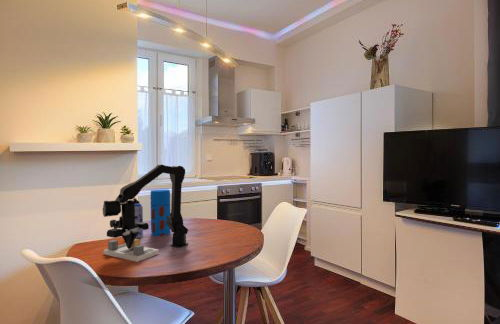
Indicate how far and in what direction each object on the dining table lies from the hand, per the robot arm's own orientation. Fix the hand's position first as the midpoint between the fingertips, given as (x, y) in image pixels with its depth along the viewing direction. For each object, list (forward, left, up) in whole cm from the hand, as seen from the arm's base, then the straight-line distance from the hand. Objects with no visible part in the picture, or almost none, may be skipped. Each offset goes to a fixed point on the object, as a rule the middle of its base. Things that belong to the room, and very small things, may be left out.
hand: (129, 248), depth 141 cm
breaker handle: (-3, 0, -1) cm, 3 cm away
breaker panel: (-1, 0, -3) cm, 3 cm away
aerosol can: (-24, -24, -3) cm, 34 cm away
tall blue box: (-35, -16, -3) cm, 39 cm away
